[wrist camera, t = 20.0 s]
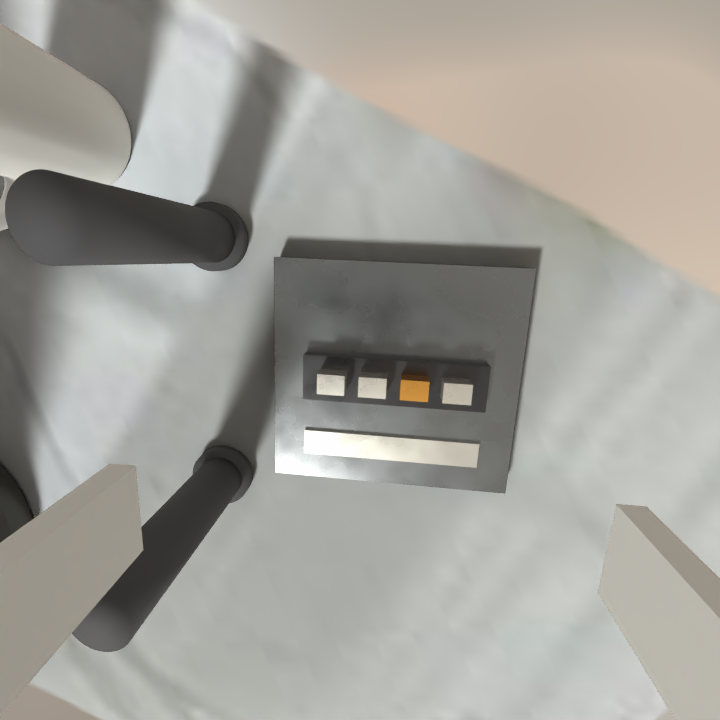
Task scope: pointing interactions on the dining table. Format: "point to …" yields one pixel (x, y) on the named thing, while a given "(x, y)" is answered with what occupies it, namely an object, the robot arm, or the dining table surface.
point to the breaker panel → (398, 370)
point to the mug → (55, 119)
